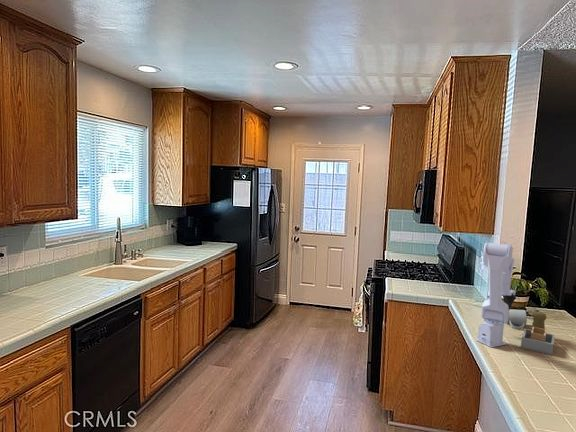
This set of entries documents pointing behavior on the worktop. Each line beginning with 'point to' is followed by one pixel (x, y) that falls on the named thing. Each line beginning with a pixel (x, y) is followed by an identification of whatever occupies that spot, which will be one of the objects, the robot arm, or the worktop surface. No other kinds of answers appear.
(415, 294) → the worktop surface
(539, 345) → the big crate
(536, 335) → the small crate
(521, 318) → the ceramic mug
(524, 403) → the worktop surface
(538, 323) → the cork
